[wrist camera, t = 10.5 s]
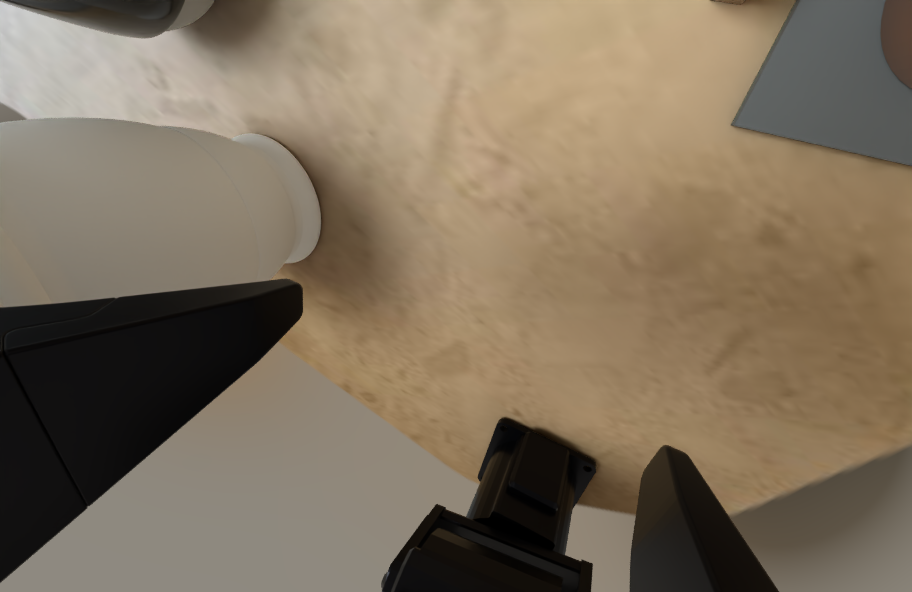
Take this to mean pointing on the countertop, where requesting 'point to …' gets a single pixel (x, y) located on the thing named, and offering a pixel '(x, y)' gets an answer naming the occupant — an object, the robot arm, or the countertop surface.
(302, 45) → the countertop surface
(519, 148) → the countertop surface
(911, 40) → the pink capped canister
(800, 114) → the mat
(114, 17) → the pump dispenser
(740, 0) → the frame
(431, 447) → the countertop surface
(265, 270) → the jar
